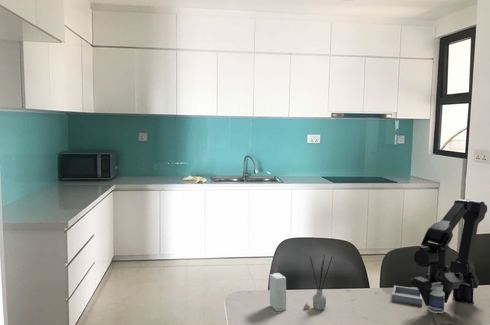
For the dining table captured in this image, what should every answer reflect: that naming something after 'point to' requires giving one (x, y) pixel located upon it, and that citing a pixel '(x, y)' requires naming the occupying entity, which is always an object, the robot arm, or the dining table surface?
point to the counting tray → (406, 295)
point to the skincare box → (278, 292)
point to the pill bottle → (436, 299)
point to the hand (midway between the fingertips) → (436, 304)
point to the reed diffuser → (319, 292)
